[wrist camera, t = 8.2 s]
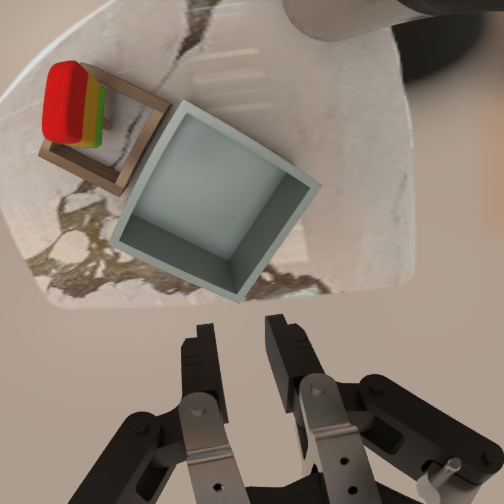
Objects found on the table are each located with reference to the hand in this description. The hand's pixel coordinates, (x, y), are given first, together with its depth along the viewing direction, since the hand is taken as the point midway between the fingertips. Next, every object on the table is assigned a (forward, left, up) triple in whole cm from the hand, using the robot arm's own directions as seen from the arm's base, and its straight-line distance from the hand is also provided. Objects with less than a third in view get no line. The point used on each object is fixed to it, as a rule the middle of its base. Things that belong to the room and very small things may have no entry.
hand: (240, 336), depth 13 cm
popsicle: (-1, -13, -24) cm, 27 cm away
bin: (0, 0, -23) cm, 23 cm away
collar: (-1, -13, -23) cm, 27 cm away
